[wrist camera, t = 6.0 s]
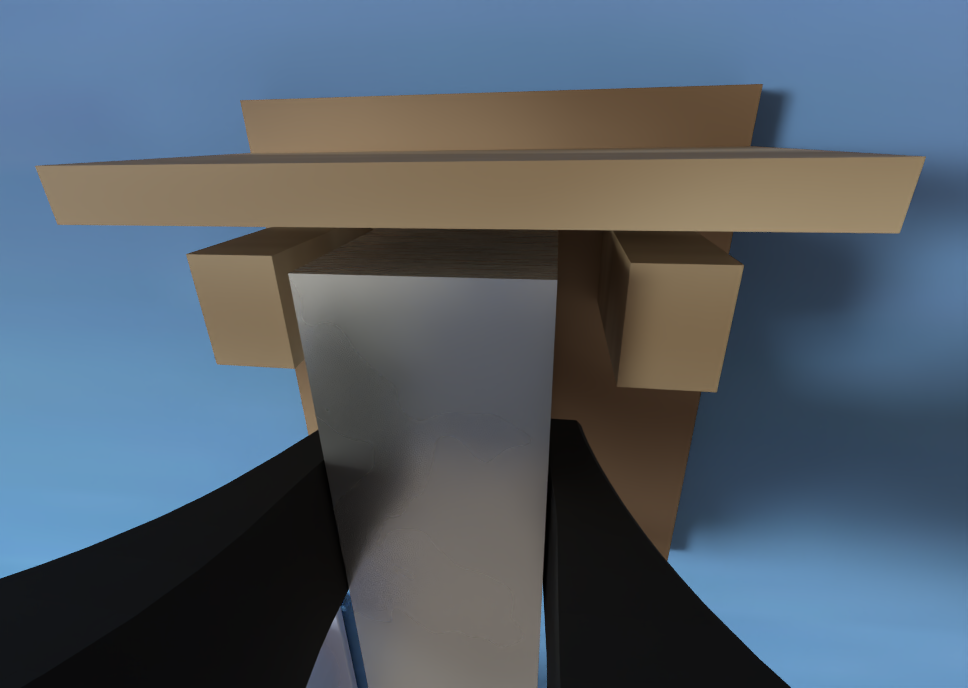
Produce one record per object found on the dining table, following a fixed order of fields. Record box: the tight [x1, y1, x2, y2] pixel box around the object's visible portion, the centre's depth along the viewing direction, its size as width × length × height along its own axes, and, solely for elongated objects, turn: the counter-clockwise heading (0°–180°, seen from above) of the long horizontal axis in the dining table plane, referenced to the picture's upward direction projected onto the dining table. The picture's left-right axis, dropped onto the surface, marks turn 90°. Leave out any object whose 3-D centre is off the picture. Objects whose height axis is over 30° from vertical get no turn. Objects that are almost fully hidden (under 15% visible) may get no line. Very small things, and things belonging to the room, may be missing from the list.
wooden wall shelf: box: [35, 84, 926, 561], centre depth 10 cm, size 13×11×6 cm
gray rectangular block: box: [288, 228, 558, 688], centre depth 10 cm, size 9×4×5 cm, turn 1°
